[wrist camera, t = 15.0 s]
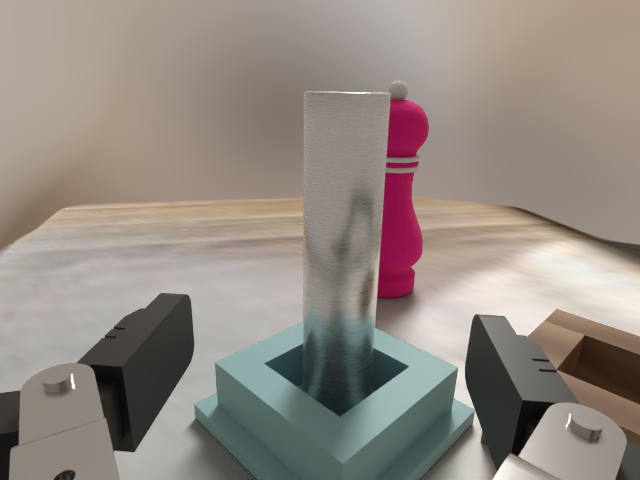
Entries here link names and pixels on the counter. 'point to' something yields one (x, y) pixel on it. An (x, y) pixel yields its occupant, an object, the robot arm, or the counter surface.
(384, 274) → the pepper mill
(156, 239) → the counter surface
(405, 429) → the socket
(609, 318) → the counter surface
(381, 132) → the axle
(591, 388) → the bore block
